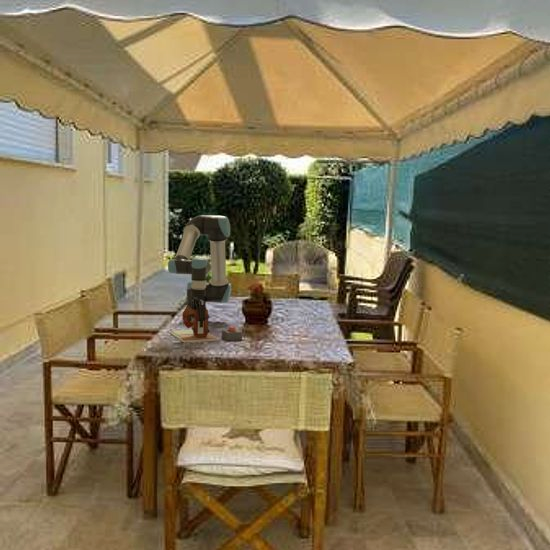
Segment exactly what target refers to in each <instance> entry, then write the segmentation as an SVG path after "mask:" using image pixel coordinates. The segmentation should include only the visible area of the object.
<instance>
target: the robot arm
mask: <svg viewBox="0 0 550 550" xmlns="http://www.w3.org/2000/svg"><path fill="white" fill-rule="evenodd" d="M182 232H183V236H182V239H181V241H180V243H179V246H178V250H177V252H176V255H175V258H170V259H169V260H168V263H167V271H168V272H169V274H178V275H190V276H191V278H190V279H191V280H190V281H188V282H187V285H186V306H185V309H186V308H187V307H191V308H192V309H194V310H196V309H197V310H198V317H199V320H198V334H203V327H204V320H205V309H207V310H208V308H207V303H216V304H217V303H219V304H223V303H224V304H226V303H228V302H229V301H230V299H231V295H232V287H233V286H232V284H231V283H230V282H229V279H228V278H227V275H226V274H227V273H226V272H227V269H226V265H227V264H226V241H227V240H228V238H229V237H230V235H231V223H230V219H229V218H228V217H227V216H224V215H210V214H209V215H207V214H206V215H205V214H201V215H197V216H194V217H193V218H191V219H190V220H189V221H188V222H187V223H186V224H185V226H184V227H183V231H182ZM200 236H203V237H204V236H206V237H207V240H208V242H209V243H210V244H209V245H210V246H209V248H210V250H209V251H210V261H208V260H207V258H204V257H203V258H202V257H194V258H192V259H191V256H192V253H193V251H194V248H195V246H196V245H195V244H196V242H197V240H198V239H199V238H200ZM209 273H210V274H211V275H210V276H211V278H210V279H209V280H208V281H207V275H209ZM193 315H194V314H190V315H188V317H189V320H190V321H191V322H195V318H194V317H193ZM193 327H194V325H193V326H192V327H190V330H193V329H192V328H193Z"/></svg>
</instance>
